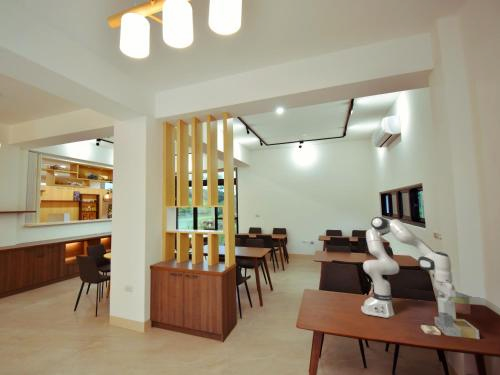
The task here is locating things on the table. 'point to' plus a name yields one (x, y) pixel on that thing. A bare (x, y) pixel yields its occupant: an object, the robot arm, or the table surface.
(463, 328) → the grey yellow rectangular frame
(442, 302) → the supplement box
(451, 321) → the nut block
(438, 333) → the tab
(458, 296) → the canned food
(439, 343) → the table surface
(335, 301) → the table surface
